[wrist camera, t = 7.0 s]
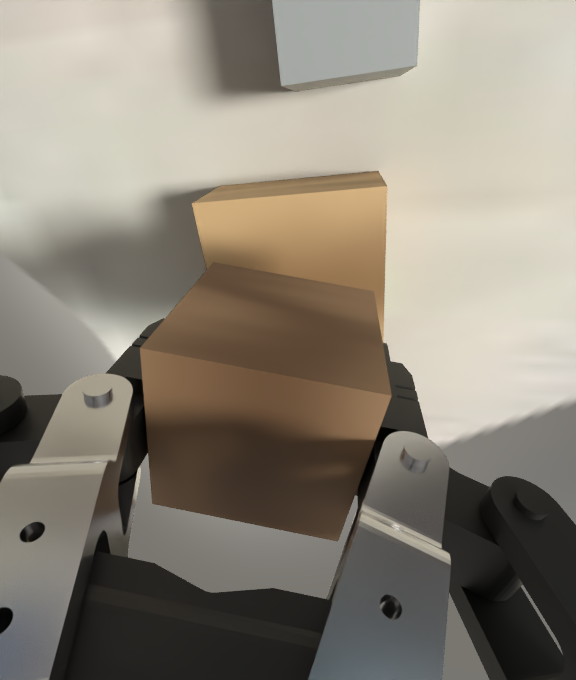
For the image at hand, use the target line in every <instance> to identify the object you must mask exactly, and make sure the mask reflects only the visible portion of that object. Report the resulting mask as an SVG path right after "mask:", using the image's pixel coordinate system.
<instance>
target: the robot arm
mask: <svg viewBox="0 0 576 680" xmlns="http://www.w3.org/2000/svg"><path fill="white" fill-rule="evenodd" d="M163 321H164V318H163V319H161V320H159V321H157V322H155V323H153V324H151V325H149V326H148V327H147V328H146V329H145V330H144V331H143V332H142V334H141V335H140V337H139V338H137V339H136V340H135V341H134V342H133V344H132V346H130V347H129V348H128V349H127V350H126V351H125V352H124V353H123V355H122V356H121V357H120V358H119V359H118V360H117V361H116V362H115V363H114V365H113V366H112V367H111V368H110V369H109V370H108V371H107V372H106V374H95V375H91V376H87V377H84V378H81V379H79V380H77V381H75V382H74V383H72V384H71V385H69V386H68V387H67V388H66V389H65V391H64V392H63V394H58V395H35V396H34V395H32V396H24V394H23V390H22V387H21V385H20V383H19V382H18V381H17V380H15V379H13V378H11V377H8V376H1V375H0V680H442V675H443V662H444V649H445V636H446V623H447V611H448V598H449V593H450V595H451V597H452V599H453V601H454V603H455V606H456V608H457V610H458V612H459V614H460V616H461V619H462V621H463V623H464V625H465V627H466V629H467V631H468V634H469V636H470V638H471V640H472V642H473V644H474V647H475V649H476V651H477V653H478V655H479V657H480V659H481V662H482V664H483V666H484V668H485V670H486V673H487V674H488V677H489V679H490V680H576V525H575V524H574V522H573V521H572V520H571V519H570V518H569V516H568V515H567V514H566V513H565V512H564V510H563V509H562V508H561V507H560V505H559V504H558V503H557V502H556V501H555V500H554V499H553V498H552V497H551V496H550V495H549V494H548V493H546V492H545V491H544V490H542V489H541V488H539V487H538V486H536V485H534V484H532V483H531V482H528V481H526V480H524V479H520V478H517V477H511V476H505V477H500V478H498V479H496V480H495V481H494V482H493V483H492V485H491V487H488V486H486V485H484V484H481V483H479V482H477V481H475V480H473V479H471V478H468V477H466V476H464V475H462V474H460V473H458V472H456V471H455V470H453V469H451V468H450V467H449V463H448V460H447V458H446V456H445V454H444V452H443V451H442V450H441V449H440V448H439V447H438V446H437V445H436V444H435V443H434V442H432V441H431V440H429V439H428V436H427V432H426V428H425V424H424V420H423V417H422V413H421V409H420V405H419V402H418V397H417V393H416V391H415V385H414V382H413V378H412V375H411V374H410V373H409V372H408V370H407V369H406V368H405V367H404V365H403V364H401V363H396V362H391V361H390V356H389V351H388V346H387V344H386V343H383V347H384V353H385V359H386V365H387V371H388V377H389V382H390V388H391V394H392V396H391V399H390V402H389V405H388V407H387V410H386V413H385V415H384V418H383V421H382V424H381V426H380V429H379V432H378V434H377V437H376V440H375V442H374V445H373V448H372V451H371V453H370V456H369V459H368V461H367V464H366V467H365V469H364V472H363V475H362V478H361V480H360V483H359V486H358V488H357V491H356V494H355V495H357V496H358V509H357V511H356V514H355V516H354V519H353V522H352V525H351V528H350V531H349V534H348V537H347V539H346V542H345V545H344V549H343V551H342V554H341V557H340V560H339V563H338V566H337V569H336V572H335V575H334V578H333V581H332V584H331V586H330V589H329V592H328V595H327V598H326V599H322V598H318V597H313V596H308V595H303V594H299V593H294V592H289V591H284V590H279V589H274V588H270V589H257V590H245V591H232V592H219V593H210V592H206V591H204V590H202V589H200V588H198V587H196V586H194V585H193V584H191V583H189V582H187V581H185V580H184V579H182V578H180V577H178V576H176V575H175V574H173V573H171V572H169V571H167V570H165V569H164V568H162V567H160V566H158V565H156V564H155V563H150V562H146V561H141V560H136V559H131V558H128V548H129V541H130V534H131V529H132V523H133V517H134V510H135V505H136V499H137V492H138V487H139V481H140V475H141V474H140V473H141V469H140V465H141V463H142V461H143V460H144V458H145V456H146V454H147V453H148V443H147V431H146V418H145V406H144V394H143V381H142V369H141V356H140V347H141V346H142V345H143V344H144V343H145V342H146V340H147V339H148V338H149V337H150V336H151V335H152V333H153V332H154V331H155V330H156V329H157V328H158V326H159V325H160V324H161V323H162V322H163ZM522 585H524V587H525V588H526V590H527V591H528V593H529V595H530V596H531V598H532V599H533V601H534V603H535V604H536V606H537V608H538V609H539V611H540V613H541V614H542V616H543V617H544V619H545V621H546V622H547V624H548V625H549V627H550V629H551V630H552V632H553V633H554V635H555V637H556V638H557V640H558V642H559V644H560V647H561V650H562V652H563V655H562V653H561V652H560V650H559V649H558V647H557V645H556V643H555V642H554V640H553V639H552V637H551V635H550V634H549V632H548V630H547V629H546V627H545V626H544V624H543V622H542V621H541V619H540V617H539V616H538V614H537V612H536V611H535V609H534V608H533V606H532V604H531V603H530V601H529V599H528V598H527V596H526V594H525V593H524V591H523V590H522V588H521V586H522ZM563 656H564V657H563Z"/></svg>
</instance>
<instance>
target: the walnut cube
mask: <svg viewBox="0 0 576 680" xmlns="http://www.w3.org/2000/svg"><path fill="white" fill-rule="evenodd" d="M140 356H141V369H142V381H143V394H144V406H145V418H146V431H147V443H148V455H149V468H150V480H151V493H152V503H153V504H156V505H161V506H166V507H171V508H176V509H181V510H186V511H190V512H196V513H200V514H206V515H210V516H216V517H220V518H225V519H230V520H235V521H240V522H245V523H250V524H255V525H260V526H264V527H269V528H275V529H279V530H284V531H289V532H294V533H299V534H304V535H309V536H314V537H319V538H324V539H329V540H334V541H338V540H339V537H340V534H341V531H342V529H343V526H344V523H345V521H346V518H347V515H348V513H349V510H350V507H351V504H352V502H353V499H354V496H355V494H356V491H357V488H358V486H359V483H360V480H361V478H362V475H363V472H364V469H365V467H366V464H367V461H368V459H369V456H370V453H371V451H372V448H373V445H374V442H375V440H376V437H377V434H378V432H379V429H380V426H381V424H382V421H383V418H384V415H385V413H386V410H387V407H388V405H389V402H390V399H391V396H392V394H391V388H390V382H389V377H388V371H387V365H386V359H385V353H384V347H383V341H382V336H381V330H380V324H379V318H378V312H377V306H376V300H375V294H374V291H370V290H365V289H359V288H354V287H348V286H343V285H337V284H332V283H326V282H320V281H315V280H309V279H304V278H298V277H293V276H287V275H282V274H276V273H270V272H265V271H259V270H254V269H248V268H243V267H237V266H232V265H226V264H221V263H215V262H213V263H212V265H211V266H210V267H209V268H208V269H207V270H206V272H205V273H204V274H203V275H202V276H201V277H200V279H199V280H198V281H197V282H196V283H195V284H194V286H193V287H192V288H191V289H190V290H189V291H188V293H187V294H186V295H185V296H184V297H183V298H182V300H181V301H180V302H179V303H178V304H177V305H176V307H175V308H174V309H173V310H172V311H171V312H170V314H169V315H168V316H167V317H166V318H165V319H164V321H163V322H162V323H161V324H160V325H159V326H158V328H157V329H156V330H155V331H154V332H153V333H152V335H151V336H150V337H149V338H148V339H147V340H146V342H145V343H144V344H143V345H142V346H141V347H140Z"/></svg>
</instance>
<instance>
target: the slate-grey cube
mask: <svg viewBox="0 0 576 680" xmlns="http://www.w3.org/2000/svg"><path fill="white" fill-rule="evenodd" d="M272 5H273V15H274V24H275V34H276V43H277V52H278V62H279V71H280V81H281V86H282V87H285V88H287V89H290V90H293V91H301V90H308V89H315V88H321V87H328V86H335V85H342V84H348V83H355V82H362V81H369V80H375V79H382V78H389V77H396V76H401V75H402V74H404V73H406V72H407V71H409V70H411V69H412V68H414V67H415V66H417V56H418V33H419V10H420V0H272Z"/></svg>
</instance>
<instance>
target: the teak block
mask: <svg viewBox="0 0 576 680" xmlns="http://www.w3.org/2000/svg"><path fill="white" fill-rule="evenodd" d="M192 207H193V211H194V216H195V220H196V225H197V229H198V234H199V238H200V243H201V247H202V251H203V256H204V260H205V265H206V269H208V268H209V267H210V266H211V265H212V263H213V262H215V263H221V264H226V265H232V266H237V267H243V268H248V269H254V270H259V271H265V272H270V273H276V274H282V275H287V276H293V277H298V278H304V279H309V280H315V281H320V282H326V283H332V284H337V285H343V286H348V287H354V288H359V289H365V290H370V291H374V294H375V300H376V306H377V312H378V318H379V324H380V330H381V336H382V341H383V328H384V289H385V250H386V211H387V185H386V183H385V182H384V180H383V178H382V176H381V175H380V173H379V171H373V172H363V173H352V174H342V175H331V176H321V177H310V178H300V179H289V180H279V181H268V182H258V183H247V184H236V185H226V186H219V187H218V188H216V189H214V190H213V191H211V192H209V193H208V194H206V195H205V196H203V197H201V198H200V199H198V200H196V201H195V202H193V203H192Z"/></svg>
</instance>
